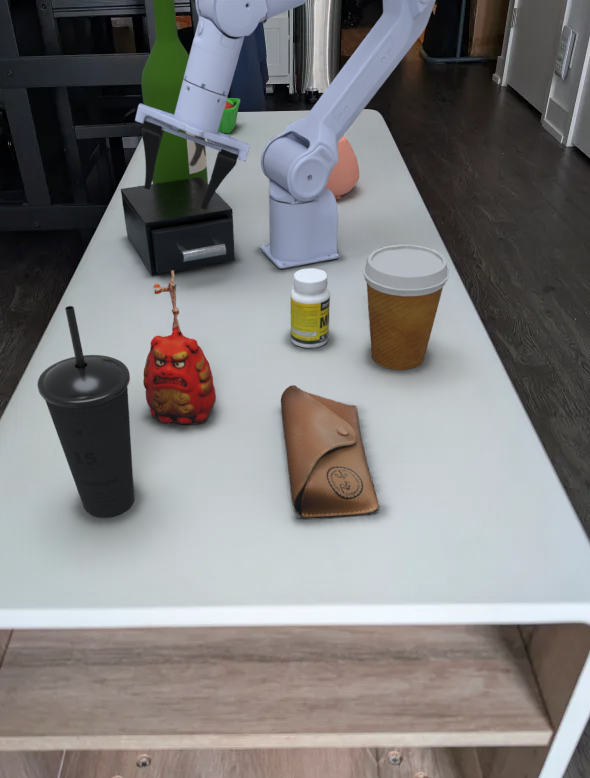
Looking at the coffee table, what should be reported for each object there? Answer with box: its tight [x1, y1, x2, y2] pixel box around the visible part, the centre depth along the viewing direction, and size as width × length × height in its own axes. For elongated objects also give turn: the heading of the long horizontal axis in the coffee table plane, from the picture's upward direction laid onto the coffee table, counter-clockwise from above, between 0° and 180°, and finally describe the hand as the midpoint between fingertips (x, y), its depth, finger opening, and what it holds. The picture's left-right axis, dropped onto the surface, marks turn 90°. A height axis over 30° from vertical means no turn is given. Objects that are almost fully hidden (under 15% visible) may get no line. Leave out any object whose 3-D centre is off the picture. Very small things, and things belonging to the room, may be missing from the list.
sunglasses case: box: [280, 384, 380, 519], centre depth 79 cm, size 18×7×7 cm
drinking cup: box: [37, 305, 135, 518], centre depth 69 cm, size 8×8×20 cm
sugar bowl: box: [325, 135, 360, 200], centre depth 134 cm, size 12×14×10 cm
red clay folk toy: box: [143, 270, 217, 426], centre depth 82 cm, size 8×7×15 cm
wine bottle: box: [140, 0, 209, 185], centre depth 121 cm, size 9×9×32 cm
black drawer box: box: [120, 177, 236, 277], centre depth 118 cm, size 15×13×8 cm
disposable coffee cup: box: [362, 244, 451, 371], centre depth 91 cm, size 10×10×12 cm
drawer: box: [152, 216, 236, 275], centre depth 114 cm, size 18×11×6 cm, turn 21°
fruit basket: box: [218, 97, 241, 134], centre depth 163 cm, size 11×9×11 cm
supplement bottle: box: [290, 267, 331, 349], centre depth 96 cm, size 5×5×8 cm
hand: (175, 197), depth 105 cm, fingers open, 7 cm apart
